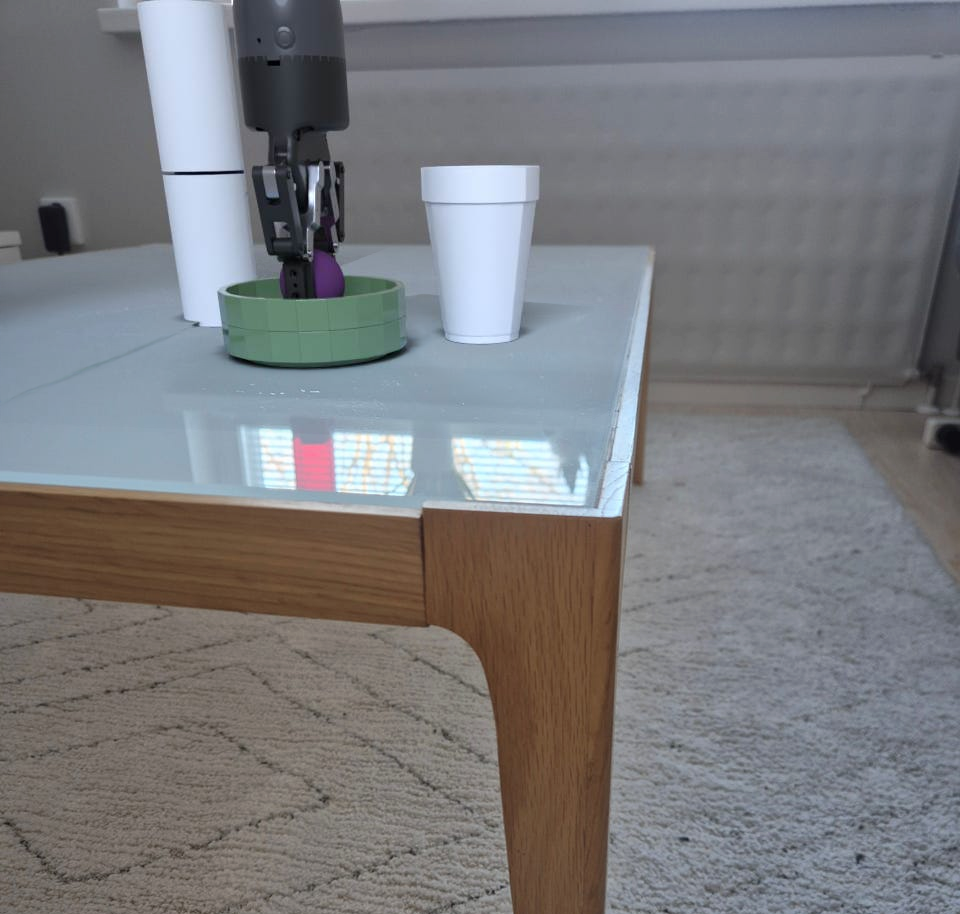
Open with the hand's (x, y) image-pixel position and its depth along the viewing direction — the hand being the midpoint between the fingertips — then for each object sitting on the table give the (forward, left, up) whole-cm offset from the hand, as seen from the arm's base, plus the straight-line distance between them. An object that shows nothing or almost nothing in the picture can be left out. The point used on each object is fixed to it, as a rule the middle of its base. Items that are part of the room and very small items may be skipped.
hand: (313, 308), depth 74 cm
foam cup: (+12, +8, -4) cm, 15 cm away
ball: (0, 0, +2) cm, 2 cm away
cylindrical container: (-14, +14, -4) cm, 20 cm away
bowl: (0, 0, -3) cm, 3 cm away
